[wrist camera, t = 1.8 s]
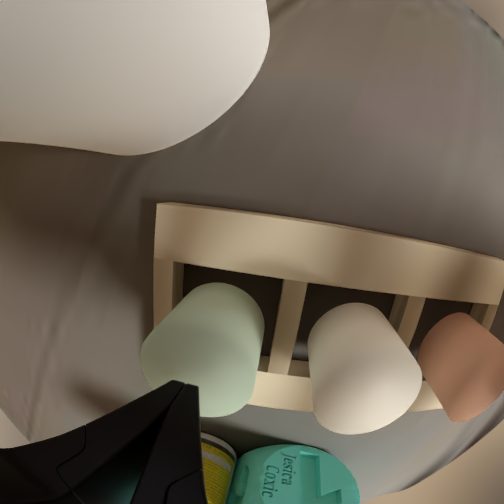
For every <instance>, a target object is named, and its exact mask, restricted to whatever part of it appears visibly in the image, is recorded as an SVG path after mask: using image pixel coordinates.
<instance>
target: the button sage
mask: <svg viewBox="0 0 504 504" xmlns="http://www.w3.org/2000/svg"><path fill="white" fill-rule="evenodd" d="M264 329H265V324H264V317H263V314H262V311H261V309H260V307H259V306H258V304H257V303H256V301H255V300H254V299H253V298H252V297H251V296H250V295H249V294H247V293H246V292H245V291H243V290H242V289H240V288H238V287H236V286H233V285H230V284H226V283H207V284H203V285H200V286H198V287H196V288H195V289H193V290H192V291H191V292H189V293H188V294H187V295H186V296H185V297H184V298H183V300H182V301H181V302H180V303H179V304H178V305H177V306H176V307H175V308H174V309H173V310H172V311H171V312H170V313H169V314H168V315H167V316H166V317H165V318H164V319H163V320H162V321H161V323H160V324H159V325H158V326H157V327H156V328H155V329H154V330H153V331H152V332H151V333H150V334H149V335H148V336H147V338H146V339H145V340H144V342H143V344H142V347H141V351H140V364H141V369H142V372H143V374H144V377H145V379H146V380H147V382H148V384H149V385H150V386H151V388H152V389H153V390H155V389H156V388H158V387H160V386H162V385H164V384H165V383H167V382H169V381H171V380H177V381H181V382H184V383H185V384H187V383H189V384H192V385H197V386H198V387H199V402H200V416H202V417H221V416H226V415H229V414H232V413H234V412H236V411H238V410H240V409H241V408H242V407H244V406H245V405H246V404H247V402H248V401H249V400H250V398H251V396H252V394H253V390H254V386H255V380H256V375H257V369H258V364H259V358H260V353H261V347H262V342H263V336H264Z"/></svg>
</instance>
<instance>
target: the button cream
mask: <svg viewBox="0 0 504 504" xmlns="http://www.w3.org/2000/svg"><path fill="white" fill-rule="evenodd" d="M307 350H308V359H309V369H310V380H311V391H312V403H313V412H314V415H315V417H316V419H317V421H318V422H319V423H320V424H321V425H322V426H323V427H325V428H326V429H328V430H330V431H333V432H336V433H341V434H361V433H367V432H371V431H374V430H377V429H379V428H382V427H384V426H386V425H388V424H390V423H391V422H393V421H395V420H396V419H397V418H399V417H400V416H401V415H402V414H403V413H405V412H406V411H407V410H408V408H409V407H410V406H411V405H412V404H413V402H414V401H415V399H416V398H417V396H418V394H419V391H420V388H421V384H422V372H421V369H420V366H419V365H418V363H417V361H416V360H415V358H414V357H413V355H412V354H411V353H410V351H409V350H408V348H407V347H406V345H405V344H404V342H403V341H402V340H401V338H400V337H399V335H398V334H397V332H396V331H395V330H394V328H393V327H392V325H391V324H390V323H389V321H388V320H387V319H386V317H385V316H384V314H383V313H382V312H381V311H380V310H378V309H377V308H375V307H373V306H371V305H369V304H365V303H347V304H343V305H340V306H337V307H335V308H333V309H331V310H329V311H328V312H326V313H325V314H324V315H323V316H322V317H320V318H319V319H318V321H317V322H316V323H315V324H314V326H313V328H312V329H311V331H310V334H309V337H308V342H307Z"/></svg>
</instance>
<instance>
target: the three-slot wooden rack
mask: <svg viewBox="0 0 504 504" xmlns="http://www.w3.org/2000/svg"><path fill="white" fill-rule="evenodd" d="M184 263H187V264H193V265H199V266H205V267H211V268H217V269H223V270H229V271H236V272H242V273H248V274H255V275H261V276H268V277H274V278H281V279H283V284H282V290H281V296H280V302H279V307H278V313H277V319H276V324H275V330H274V335H273V340H272V346H271V351H270V356H263V355H260V358H259V364H258V369H257V375H256V380H255V386H254V390H253V394H252V396H251V398H250V400H249V401H248V402H247V404H251V405H257V406H264V407H271V408H279V409H287V410H297V411H309V412H313V403H312V391H311V380H310V369H309V362H308V361H299V360H291V358H292V354H293V349H294V345H295V341H296V336H297V332H298V327H299V323H300V318H301V313H302V309H303V304H304V299H305V294H306V289H307V284H308V282H309V283H316V284H323V285H330V286H337V287H345V288H352V289H360V290H368V291H375V292H383V293H391V294H396V296H395V299H394V303H393V306H392V310H391V313H390V316H389V319H388V321H389V323H390V324H391V325H392V327H393V328H394V330H395V331H396V332H397V334H398V335H399V337H400V338H401V340H402V341H403V342H404V344H405V345H406V347H407V348H409V346H410V343H411V340H412V338H413V335H414V332H415V330H416V327H417V324H418V321H419V318H420V315H421V312H422V309H423V306H424V303H425V299H426V298H434V299H443V300H453V301H463V302H473V306H472V309H471V312H470V315H469V316H470V317H472V318H473V319H474V320H475V321H477V322H478V323H479V324H480V325H482V326H483V327H484V328H485V329H486V330H488V331H489V330H490V328H491V325H492V323H493V320H494V317H495V314H496V312H497V309H498V306H499V303H500V299H501V296H502V293H503V290H504V260H501V259H499V258H496V257H493V256H489V255H485V254H481V253H476V252H472V251H468V250H464V249H459V248H455V247H451V246H446V245H441V244H437V243H432V242H427V241H423V240H418V239H413V238H408V237H403V236H398V235H393V234H388V233H382V232H377V231H371V230H366V229H360V228H355V227H349V226H343V225H337V224H331V223H325V222H319V221H313V220H306V219H300V218H293V217H286V216H279V215H272V214H265V213H258V212H250V211H243V210H235V209H227V208H218V207H210V206H201V205H192V204H183V203H173V202H168V203H158V204H157V211H156V225H155V243H154V273H153V312H154V329H155V328H156V327H157V326H158V325H159V324H160V323H161V321H162V320H163V319H164V318H165V317H166V316H167V315H168V314H169V313H170V312H171V311H172V310H173V309H174V308H175V307H176V306H177V305H178V304H179V303H180V302H181V301H182V298H183V275H184ZM439 408H443V407H442V405H441V403H440V402H439V400H438V398H437V397H436V395H435V393H434V392H433V390H432V389H431V387H430V385H429V384H428V382H427V381H426V379H425V377H424V376H423V374H422V384H421V388H420V391H419V394H418V396H417V398H416V399H415V401H414V402H413V404H412V405H411V406H410V407H409V408H408V410H407V411H406V412H411V411H422V410H431V409H439Z"/></svg>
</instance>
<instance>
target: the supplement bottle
mask: <svg viewBox="0 0 504 504" xmlns="http://www.w3.org/2000/svg"><path fill="white" fill-rule="evenodd" d="M201 444H202V459H203V471H204V482H205V489H206V496H207V500H208V504H226V501H227V497H228V493H229V489H230V485H231V481H232V477H233V473H234V469H235V465H236V460H237V457H236V453H235V451H234V450H233V449H232V448H231V446H230V445H228V444H227V443H226V442H224V441H223V440H221V439H219V438H217V437H215V436H212V435H209V434H206V433H202V432H201Z"/></svg>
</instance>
